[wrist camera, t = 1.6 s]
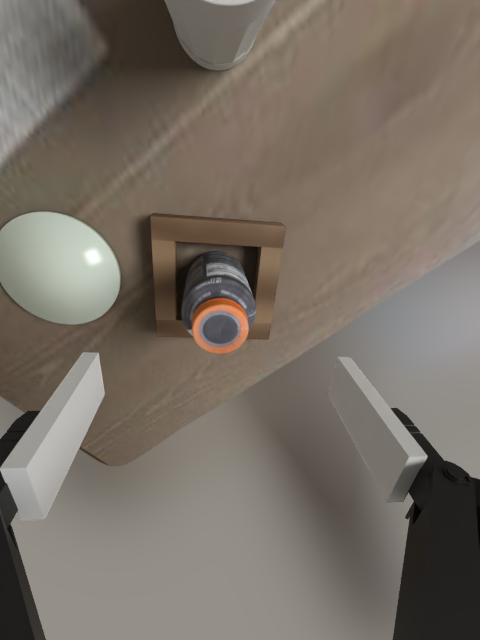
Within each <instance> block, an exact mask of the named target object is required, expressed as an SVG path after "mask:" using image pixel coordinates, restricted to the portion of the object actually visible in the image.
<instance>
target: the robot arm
mask: <svg viewBox="0 0 480 640" xmlns="http://www.w3.org/2000/svg"><path fill="white" fill-rule="evenodd" d="M327 394H328V397H329V398H330V400H331V402H332V404H333V406H334V407H335V409H336V411H337V413H338V415H339V417H340V418H341V420H342V422H343V424H344V426H345V428H346V429H347V431H348V433H349V435H350V437H351V439H352V441H353V442H354V444H355V446H356V448H357V450H358V451H359V453H360V455H361V457H362V459H363V461H364V463H365V464H366V466H367V468H368V470H369V472H370V474H371V475H372V477H373V479H374V481H375V482H376V485H377V486H378V488H379V490H380V492H381V494H382V496H383V497H384V499H385V501H386V503H388V502H403V501H404V500H405V498H406V496H407V494H408V492H409V494H410V495H411V497H412V498H413V500H414V502H413V504H412V506H411V507H410V509H409V511H408V513H407V515H406V517H405V518H406V519H408V518H409V517H410V520H409V527H408V534H407V541H406V548H405V556H404V563H403V570H402V577H401V585H400V591H399V599H398V606H397V613H396V620H395V628H394V635H393V640H480V479H476V478H472V477H470V476H469V474H468V473H467V472H466V471H464V470H463V469H462V468H461V467H459V466H457V465H456V464H454V463H451V462H448V461H444V460H443V459H442V457H441V456H440V455H439V454H438V453H437V451H436V450H435V449H434V448H433V447H432V445H431V444H430V443H429V442H428V441H427V439H426V438H425V437H424V436H423V434H421V433H420V431H419V430H418V428H417V427H416V426H414V424H413V423H412V421H411V420H410V419H409V418H408V417H407V415H405V414H404V413H403V412H401V411H400V410H399V409H397V408H390V407H389V406H388V405H387V404H386V402H385V401H384V400H383V398H382V397H381V396H380V395H379V394H378V392H377V391H376V389H375V388H374V387H373V386H372V384H371V383H370V382H369V381H368V380H367V378H366V377H365V375H364V374H363V373H362V372H361V370H360V369H359V368H358V367H357V365H356V364H355V363H354V361H353V360H352V359H351V358H350V357H337V361H336V365H335V368H334V372H333V375H332V379H331V383H330V386H329V390H328V393H327ZM104 395H105V392H104V385H103V379H102V372H101V366H100V360H99V353H85V352H83V353H82V354H81V356H80V357H79V359H78V360H77V361H76V363H75V364H74V366H73V367H72V368H71V370H70V371H69V372H68V374H67V375H66V377H65V378H64V379H63V381H62V382H61V384H60V385H59V386H58V388H57V389H56V391H55V392H54V393H53V395H52V396H51V398H50V399H49V400H48V402H47V403H46V404H45V406H44V407H43V409H42V410H41V411H27V412H26V413H25V414H23V415H22V416H21V417H19V418H18V419H17V420H16V421H15V422H14V423H13V424H12V425H11V427H10V428H9V429H8V430H7V433H5V434H4V436H3V437H2V438H1V439H0V640H46V639H45V636H44V632H43V629H42V625H41V622H40V619H39V615H38V612H37V609H36V605H35V602H34V599H33V595H32V592H31V589H30V585H29V582H28V579H27V576H26V572H25V569H24V565H23V562H22V559H21V555H20V552H19V549H18V545H17V542H16V539H15V535H14V532H13V529H12V526H11V524H10V523H11V521H12V520H13V518H14V516H15V514H16V512H17V511H18V513H19V516H20V519H21V521H27V520H45V518H46V516H47V514H48V512H49V510H50V508H51V505H52V503H53V501H54V499H55V497H56V495H57V493H58V491H59V489H60V487H61V485H62V483H63V481H64V478H65V476H66V474H67V472H68V470H69V468H70V466H71V464H72V462H73V460H74V458H75V455H76V453H77V451H78V449H79V447H80V445H81V443H82V441H83V439H84V437H85V435H86V433H87V430H88V428H89V426H90V424H91V422H92V420H93V418H94V416H95V414H96V412H97V410H98V407H99V405H100V403H101V401H102V399H103V397H104Z"/></svg>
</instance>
